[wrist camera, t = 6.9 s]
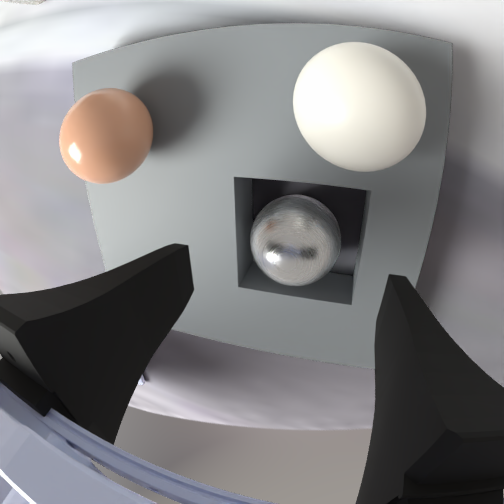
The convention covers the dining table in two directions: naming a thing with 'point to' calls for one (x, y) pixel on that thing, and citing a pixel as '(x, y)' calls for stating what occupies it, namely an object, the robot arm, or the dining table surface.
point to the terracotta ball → (106, 135)
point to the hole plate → (263, 167)
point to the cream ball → (359, 106)
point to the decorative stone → (25, 1)
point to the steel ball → (295, 240)
